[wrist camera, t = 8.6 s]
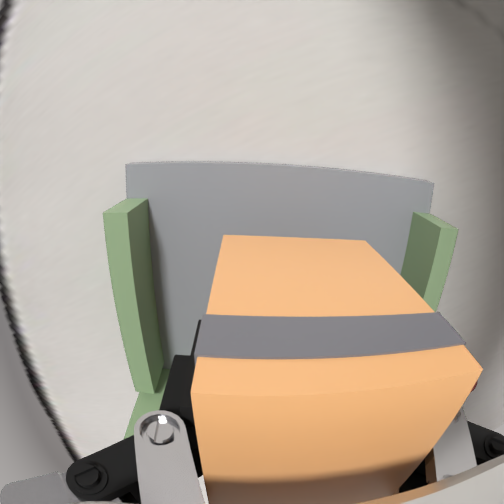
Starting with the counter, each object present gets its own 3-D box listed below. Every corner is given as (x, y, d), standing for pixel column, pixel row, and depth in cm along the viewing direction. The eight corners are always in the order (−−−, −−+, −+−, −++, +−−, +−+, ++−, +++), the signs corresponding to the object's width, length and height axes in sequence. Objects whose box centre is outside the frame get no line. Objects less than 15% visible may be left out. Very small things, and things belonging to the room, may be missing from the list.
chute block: (222, 233, 10) (186, 390, 4) (366, 239, 11) (485, 366, 4) (223, 400, 13) (214, 536, 7) (329, 398, 13) (361, 525, 7)
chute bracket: (131, 162, 13) (44, 191, 6) (425, 180, 13) (522, 218, 7) (154, 370, 17) (125, 461, 11) (378, 371, 18) (415, 454, 11)
